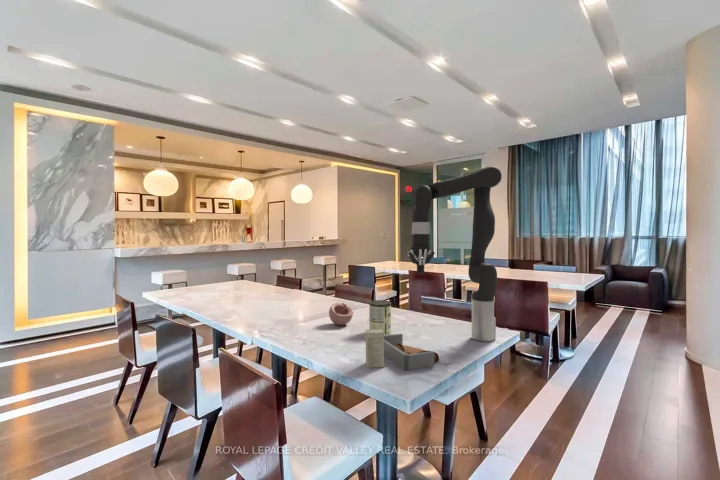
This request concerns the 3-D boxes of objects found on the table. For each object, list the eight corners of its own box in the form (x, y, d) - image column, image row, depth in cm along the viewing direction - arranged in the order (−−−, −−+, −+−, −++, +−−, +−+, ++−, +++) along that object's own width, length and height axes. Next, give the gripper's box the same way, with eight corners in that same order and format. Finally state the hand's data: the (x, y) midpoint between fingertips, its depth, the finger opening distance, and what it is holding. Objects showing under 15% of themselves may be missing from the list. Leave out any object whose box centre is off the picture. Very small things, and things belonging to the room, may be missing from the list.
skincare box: (383, 363, 125) (383, 328, 125) (384, 367, 121) (384, 332, 121) (365, 363, 125) (365, 328, 125) (365, 367, 121) (365, 332, 121)
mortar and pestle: (339, 329, 169) (339, 305, 169) (324, 324, 178) (324, 302, 178) (357, 325, 177) (357, 302, 177) (342, 320, 186) (342, 299, 186)
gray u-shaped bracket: (401, 345, 145) (401, 333, 145) (434, 366, 122) (434, 352, 122) (376, 348, 141) (376, 336, 141) (405, 370, 118) (405, 356, 118)
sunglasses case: (384, 356, 132) (389, 339, 134) (393, 361, 137) (398, 344, 139) (428, 368, 121) (433, 348, 123) (436, 372, 126) (440, 354, 128)
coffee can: (369, 329, 170) (370, 299, 170) (391, 329, 169) (391, 300, 169) (368, 335, 160) (368, 304, 160) (391, 335, 159) (391, 304, 159)
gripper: (429, 233, 156) (429, 272, 156) (402, 233, 151) (402, 273, 151) (439, 233, 149) (438, 274, 149) (411, 233, 144) (411, 275, 144)
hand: (420, 273), depth 150 cm, fingers closed
